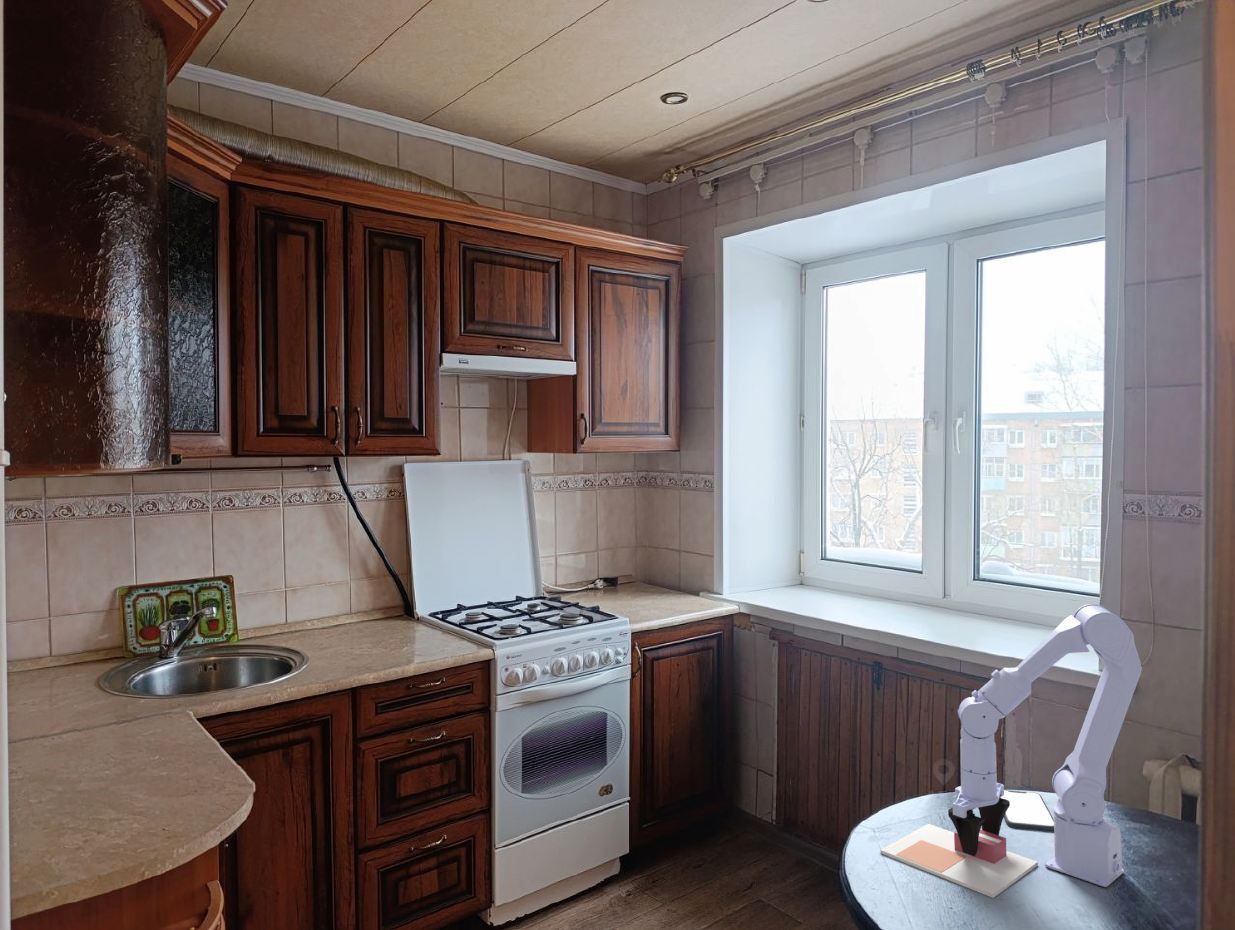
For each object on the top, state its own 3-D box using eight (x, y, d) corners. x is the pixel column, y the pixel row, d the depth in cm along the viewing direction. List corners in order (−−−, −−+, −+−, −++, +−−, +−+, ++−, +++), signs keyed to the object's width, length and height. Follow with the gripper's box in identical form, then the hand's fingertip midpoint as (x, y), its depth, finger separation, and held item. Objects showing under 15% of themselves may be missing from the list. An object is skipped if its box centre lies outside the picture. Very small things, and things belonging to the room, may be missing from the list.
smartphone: (1059, 836, 149) (1040, 800, 165) (1059, 827, 149) (1040, 792, 165) (1007, 831, 152) (993, 796, 167) (1007, 822, 152) (993, 788, 167)
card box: (1006, 855, 140) (1006, 837, 140) (994, 863, 137) (993, 845, 137) (967, 841, 145) (966, 824, 145) (954, 849, 142) (954, 831, 142)
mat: (1038, 865, 137) (1037, 861, 137) (993, 897, 127) (993, 893, 127) (928, 826, 153) (928, 823, 153) (880, 853, 142) (880, 849, 142)
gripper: (976, 752, 149) (977, 827, 149) (935, 772, 139) (936, 851, 139) (1015, 763, 143) (1016, 840, 143) (975, 784, 134) (977, 866, 134)
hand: (980, 846), depth 141 cm, fingers open, 7 cm apart
